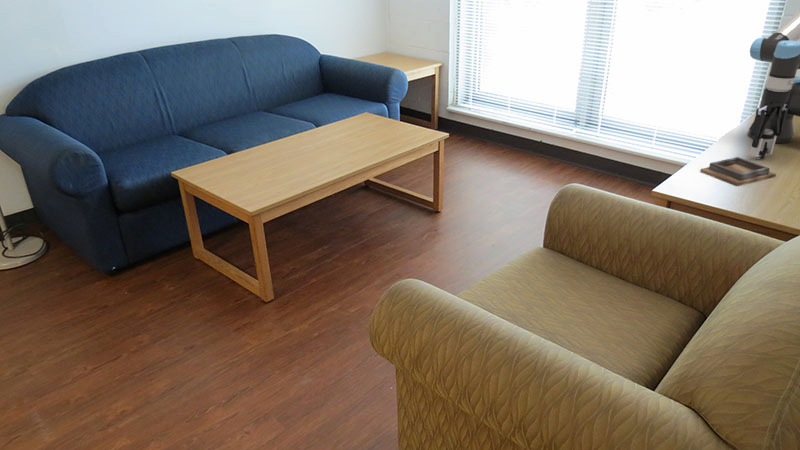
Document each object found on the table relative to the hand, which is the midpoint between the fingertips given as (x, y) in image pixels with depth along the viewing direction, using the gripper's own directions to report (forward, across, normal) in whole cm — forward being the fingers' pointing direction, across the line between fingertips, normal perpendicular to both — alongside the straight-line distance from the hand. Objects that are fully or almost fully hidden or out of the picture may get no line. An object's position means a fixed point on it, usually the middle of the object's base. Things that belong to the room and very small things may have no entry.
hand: (760, 154), depth 210 cm
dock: (+1, -20, -7) cm, 21 cm away
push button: (+2, 0, 0) cm, 2 cm away
